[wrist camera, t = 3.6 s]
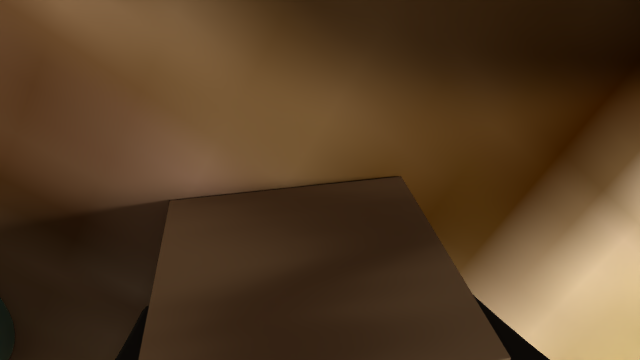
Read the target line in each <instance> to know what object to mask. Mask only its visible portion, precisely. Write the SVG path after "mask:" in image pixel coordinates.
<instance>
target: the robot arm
mask: <svg viewBox="0 0 640 360" xmlns="http://www.w3.org/2000/svg"><path fill="white" fill-rule="evenodd" d="M472 295H473V294H472ZM473 296H474V295H473ZM474 298H475V299H476V301H477V303H478V304H479V306H480V308H481V309H482V311H483V313H484V314H485V316H486V318H487V319H488V321H489V323H490V324H491V326H492V328H493V329H494V331H495V333H496V334H497V336H498V337H499V339H500V341H501V342H502V344H503V346H504V347H505V349H506V351H507V352H508V354H509V356H510V357H511V359H510V360H550V359H548V358H547V357H546V356H544V355H543V354H542V353H540V352H539V351H538V350H537V349H536V348H534V347H533V346H532V345H531V344H529V343H528V342H527V341H526V340H525V339H523V338H522V337H521V336H520V335H519V334H517V333H516V332H515V331H514V330H513V329H511V328H510V327H509V326H508V325H507V324H506V323H504V322H503V321H502V320H501V319H500V318H499V317H497V316H496V315H495V314H494V313H493V312H492V311H491V310H489V309H488V308H487V307H486V306H485V305H484V304H483V303H482V302H481V301H479V300H478V299H477V298H476V297H475V296H474ZM148 309H149V306H147V307H146V308H145V309H144V310H143V311H142V313H141V315H140V316H139V318H138V320H137V322H136V324H135V326H134V328H133V329H132V331H131V333H130V335H129V337H128V339H127V340H126V342H125V344H124V346H123V347H122V349H121V351H120V352H119V354H118V356H117V358H116V359H115V360H139V354H140V349H141V344H142V339H143V334H144V329H145V324H146V319H147V314H148Z"/></svg>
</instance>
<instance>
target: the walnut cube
mask: <svg viewBox="0 0 640 360" xmlns="http://www.w3.org/2000/svg"><path fill="white" fill-rule="evenodd" d="M510 359H511V357H510V356H509V354H508V352H507V351H506V349H505V347H504V346H503V344H502V342H501V341H500V339H499V337H498V336H497V334H496V333H495V331H494V329H493V328H492V326H491V324H490V323H489V321H488V319H487V318H486V316H485V314H484V313H483V311H482V309H481V308H480V306H479V304H478V303H477V301H476V299H475V298H474V296H473V295H472V293H471V291H470V290H469V288H468V286H467V285H466V283H465V281H464V280H463V278H462V276H461V275H460V273H459V271H458V270H457V268H456V266H455V265H454V263H453V261H452V260H451V258H450V257H449V255H448V253H447V252H446V250H445V248H444V247H443V245H442V243H441V242H440V240H439V238H438V237H437V235H436V233H435V232H434V230H433V228H432V227H431V225H430V223H429V222H428V220H427V218H426V217H425V215H424V214H423V212H422V210H421V209H420V207H419V205H418V204H417V202H416V200H415V199H414V197H413V195H412V194H411V192H410V190H409V189H408V187H407V185H406V184H405V182H404V180H403V179H402V177H401V176H400V177H391V178H381V179H372V180H362V181H353V182H343V183H334V184H324V185H315V186H305V187H296V188H286V189H277V190H267V191H258V192H248V193H239V194H229V195H219V196H210V197H200V198H191V199H181V200H172V201H170V203H169V208H168V213H167V218H166V223H165V228H164V233H163V238H162V243H161V248H160V253H159V258H158V263H157V268H156V273H155V279H154V284H153V289H152V294H151V299H150V304H149V309H148V314H147V319H146V324H145V329H144V334H143V339H142V344H141V349H140V354H139V360H510Z"/></svg>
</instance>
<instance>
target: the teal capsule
mask: <svg viewBox="0 0 640 360" xmlns="http://www.w3.org/2000/svg"><path fill="white" fill-rule="evenodd" d="M14 343H15V331H14V325H13V321H12V318H11V316H10V313H9V311H8V309H7V307H6V306H5V304H4V302H3V301H2V299H1V298H0V360H9V358H10V356H11V354H12V351H13V347H14Z"/></svg>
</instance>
